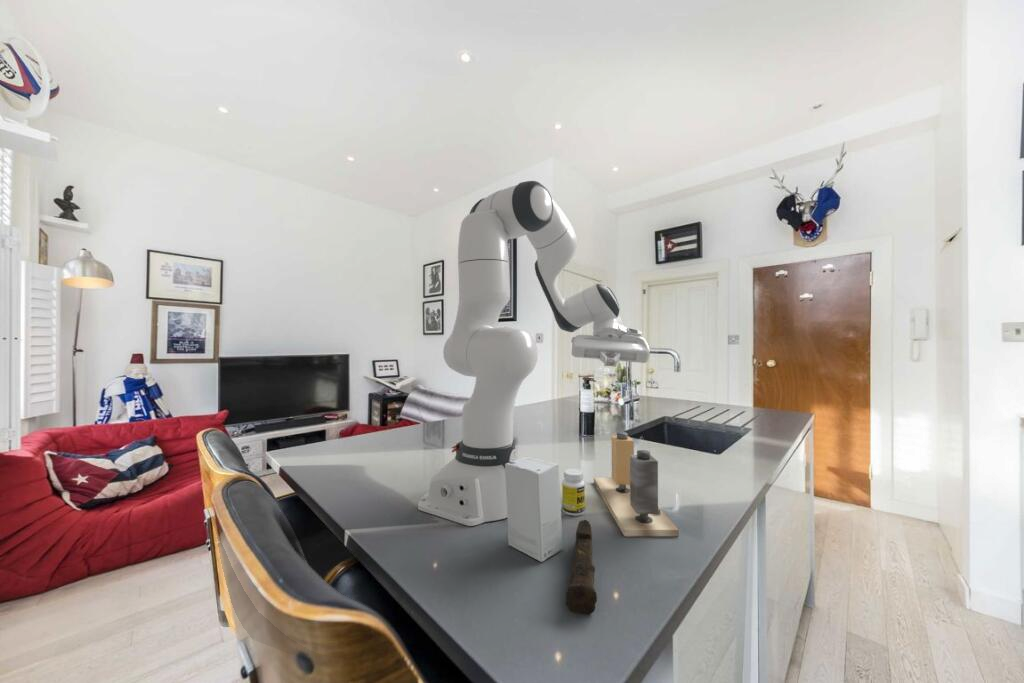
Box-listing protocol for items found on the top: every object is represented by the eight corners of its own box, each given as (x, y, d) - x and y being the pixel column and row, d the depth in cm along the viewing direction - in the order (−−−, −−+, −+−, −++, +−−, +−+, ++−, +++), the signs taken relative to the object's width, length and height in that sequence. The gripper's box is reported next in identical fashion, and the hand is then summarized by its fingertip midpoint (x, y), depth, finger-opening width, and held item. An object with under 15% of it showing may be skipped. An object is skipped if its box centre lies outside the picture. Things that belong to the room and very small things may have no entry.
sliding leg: (616, 491, 84) (616, 435, 84) (611, 485, 88) (611, 431, 88) (633, 491, 84) (633, 435, 84) (628, 485, 88) (628, 431, 88)
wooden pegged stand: (624, 536, 68) (624, 458, 68) (593, 482, 94) (593, 425, 94) (678, 536, 68) (678, 458, 68) (633, 482, 94) (632, 425, 94)
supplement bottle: (579, 518, 75) (579, 477, 75) (558, 513, 78) (558, 473, 78) (588, 509, 79) (588, 470, 79) (567, 504, 82) (567, 466, 82)
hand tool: (596, 619, 48) (596, 584, 48) (565, 613, 49) (565, 579, 49) (600, 543, 67) (600, 517, 67) (578, 540, 68) (578, 514, 68)
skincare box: (563, 550, 64) (562, 464, 64) (540, 565, 60) (539, 473, 60) (527, 532, 70) (527, 453, 70) (504, 544, 66) (504, 461, 66)
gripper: (572, 326, 106) (569, 349, 94) (647, 331, 102) (654, 356, 90) (571, 345, 109) (568, 370, 97) (643, 351, 105) (650, 378, 93)
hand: (610, 364), depth 94 cm, fingers closed
